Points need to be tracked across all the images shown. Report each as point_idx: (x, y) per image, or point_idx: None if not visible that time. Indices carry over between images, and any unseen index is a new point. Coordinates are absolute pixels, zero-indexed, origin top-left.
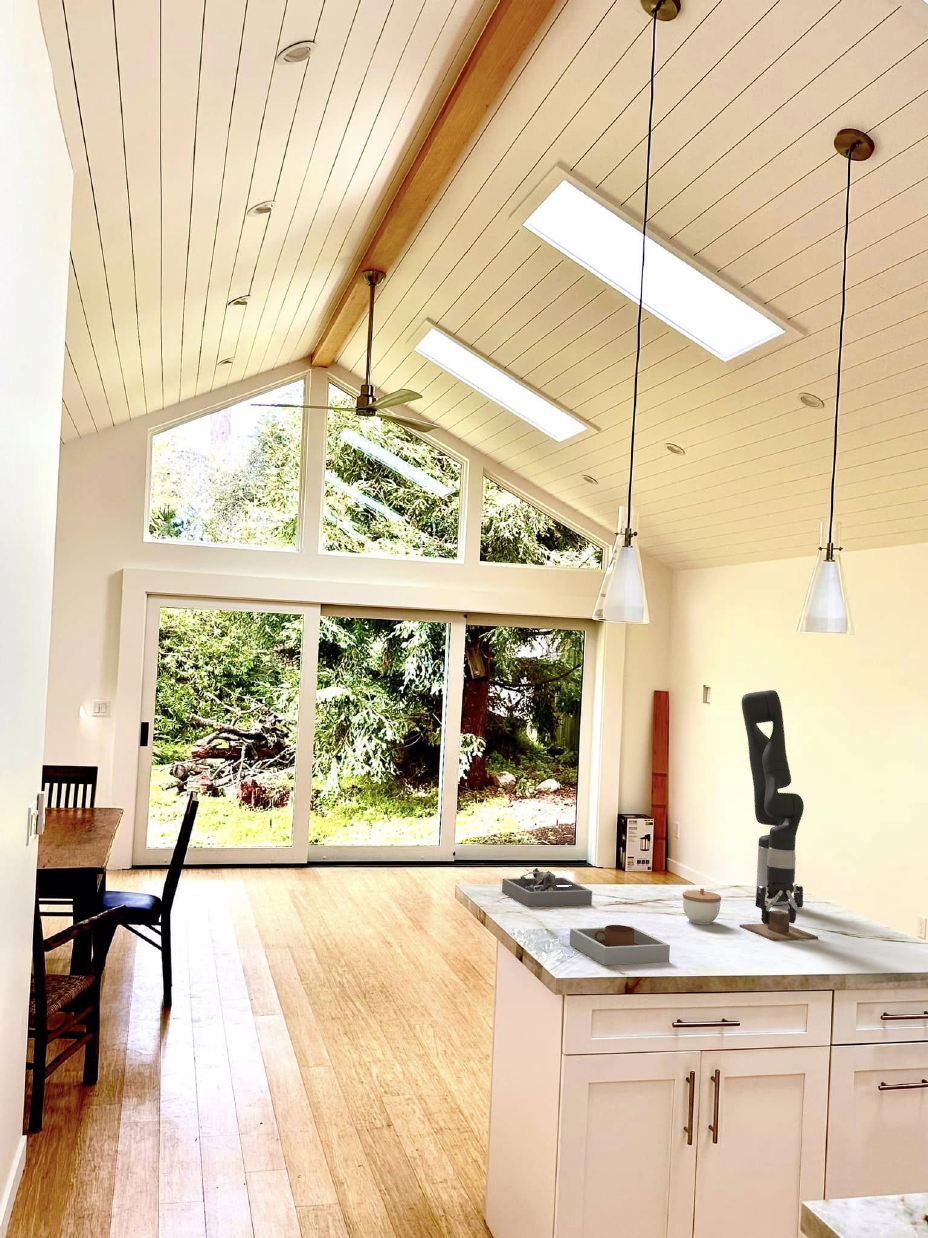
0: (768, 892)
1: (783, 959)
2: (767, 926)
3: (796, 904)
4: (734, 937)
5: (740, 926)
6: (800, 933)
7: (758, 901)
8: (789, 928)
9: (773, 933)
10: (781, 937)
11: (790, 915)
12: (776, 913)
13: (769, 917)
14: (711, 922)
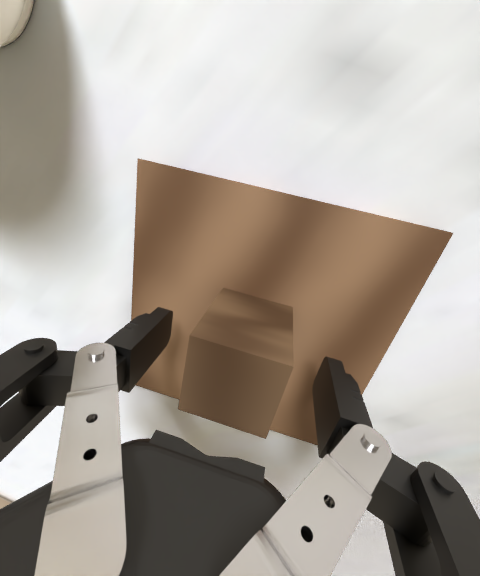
0: (3, 524)
1: (51, 463)
2: (264, 254)
3: (373, 512)
4: (24, 286)
5: (140, 171)
6: (305, 397)
7: (3, 381)
8: (344, 330)
9: (186, 345)
10: (172, 389)
11: (324, 402)
12: (187, 396)
13: (148, 366)
14: (20, 21)
